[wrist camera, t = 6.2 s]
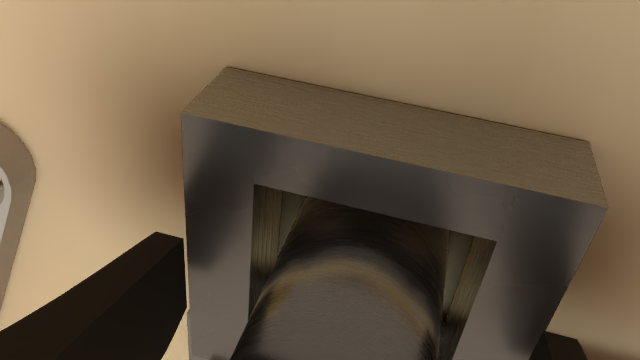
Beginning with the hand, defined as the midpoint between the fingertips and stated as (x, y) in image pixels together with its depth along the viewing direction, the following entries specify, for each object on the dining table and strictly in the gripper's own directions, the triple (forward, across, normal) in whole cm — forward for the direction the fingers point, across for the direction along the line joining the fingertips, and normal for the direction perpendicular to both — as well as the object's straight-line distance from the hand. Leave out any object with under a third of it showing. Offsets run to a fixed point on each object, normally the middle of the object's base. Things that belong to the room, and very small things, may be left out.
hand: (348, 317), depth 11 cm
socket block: (+3, 0, +2) cm, 3 cm away
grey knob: (+3, 0, 0) cm, 3 cm away
